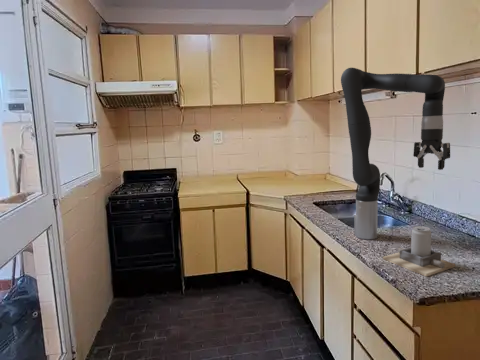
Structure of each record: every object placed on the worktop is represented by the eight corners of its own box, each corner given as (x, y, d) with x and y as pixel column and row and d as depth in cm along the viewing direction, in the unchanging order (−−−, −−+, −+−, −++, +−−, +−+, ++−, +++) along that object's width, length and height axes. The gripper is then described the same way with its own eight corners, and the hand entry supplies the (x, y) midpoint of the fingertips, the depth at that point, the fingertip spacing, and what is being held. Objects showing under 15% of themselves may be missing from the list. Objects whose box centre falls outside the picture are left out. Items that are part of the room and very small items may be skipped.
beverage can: (408, 260, 128) (409, 228, 126) (414, 255, 133) (415, 224, 131) (427, 264, 124) (428, 232, 122) (432, 259, 128) (433, 227, 126)
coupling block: (383, 259, 133) (383, 249, 132) (410, 251, 139) (411, 241, 139) (426, 276, 117) (426, 265, 116) (455, 266, 123) (455, 256, 123)
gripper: (409, 128, 142) (408, 167, 145) (442, 127, 130) (441, 171, 132) (422, 127, 145) (421, 166, 148) (455, 126, 133) (454, 169, 135)
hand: (430, 168), depth 140 cm, fingers open, 8 cm apart
